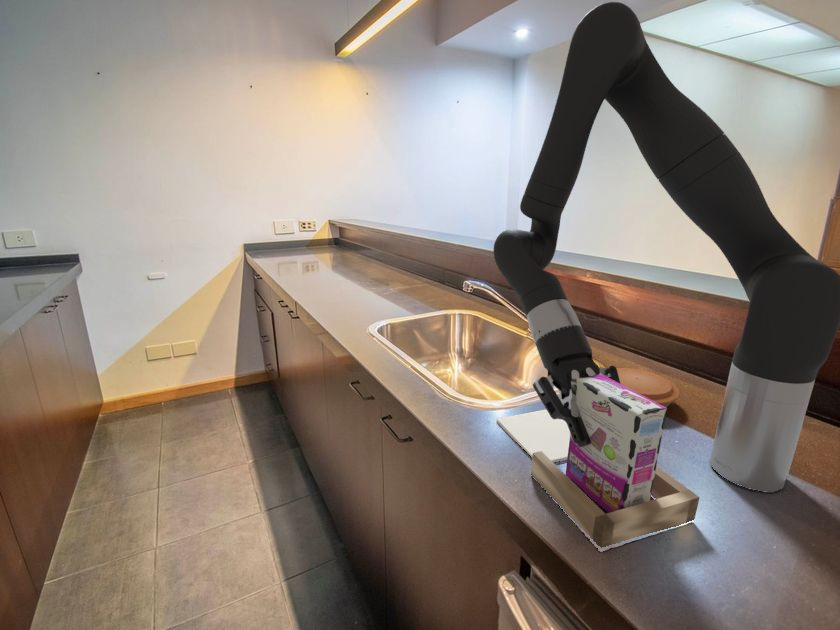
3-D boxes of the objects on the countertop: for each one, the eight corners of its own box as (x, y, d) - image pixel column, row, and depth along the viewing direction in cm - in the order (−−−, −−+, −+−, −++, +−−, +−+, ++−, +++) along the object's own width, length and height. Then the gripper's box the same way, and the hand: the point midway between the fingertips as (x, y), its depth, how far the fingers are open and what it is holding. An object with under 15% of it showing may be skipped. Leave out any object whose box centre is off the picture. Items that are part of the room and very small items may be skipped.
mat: (551, 411, 83) (551, 408, 83) (601, 451, 70) (601, 448, 70) (496, 421, 79) (496, 418, 79) (539, 466, 66) (539, 463, 66)
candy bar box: (649, 517, 56) (670, 407, 51) (620, 528, 54) (639, 415, 50) (589, 467, 66) (602, 371, 61) (563, 475, 64) (574, 377, 60)
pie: (674, 428, 77) (679, 404, 75) (586, 405, 85) (588, 383, 84) (678, 394, 89) (683, 373, 88) (601, 377, 97) (603, 357, 96)
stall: (610, 456, 69) (613, 434, 68) (693, 522, 55) (699, 497, 54) (530, 475, 64) (532, 453, 63) (600, 552, 51) (604, 525, 49)
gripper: (528, 328, 61) (573, 445, 54) (608, 319, 66) (660, 426, 58) (508, 349, 68) (545, 457, 60) (582, 339, 72) (625, 438, 65)
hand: (601, 441), depth 59 cm, fingers open, 5 cm apart
